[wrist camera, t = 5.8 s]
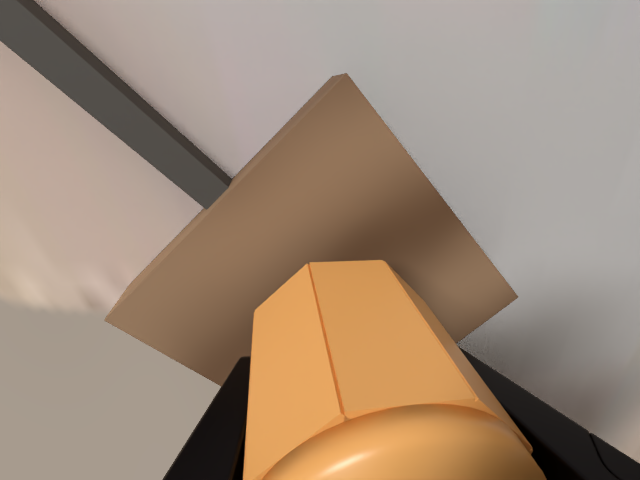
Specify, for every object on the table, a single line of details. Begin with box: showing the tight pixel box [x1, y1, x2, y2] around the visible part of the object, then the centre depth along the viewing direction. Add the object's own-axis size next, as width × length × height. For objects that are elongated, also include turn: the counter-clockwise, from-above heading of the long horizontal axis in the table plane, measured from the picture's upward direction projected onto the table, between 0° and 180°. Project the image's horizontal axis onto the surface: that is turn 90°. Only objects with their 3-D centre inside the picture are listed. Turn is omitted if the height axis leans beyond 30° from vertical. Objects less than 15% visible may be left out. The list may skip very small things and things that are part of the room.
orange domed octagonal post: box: [243, 260, 547, 480], centre depth 7 cm, size 5×5×5 cm
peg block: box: [105, 73, 518, 386], centre depth 10 cm, size 10×10×6 cm
